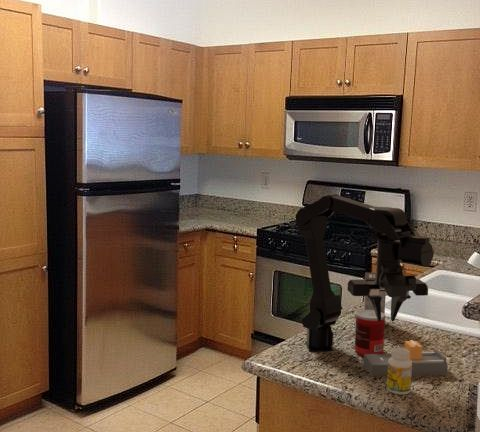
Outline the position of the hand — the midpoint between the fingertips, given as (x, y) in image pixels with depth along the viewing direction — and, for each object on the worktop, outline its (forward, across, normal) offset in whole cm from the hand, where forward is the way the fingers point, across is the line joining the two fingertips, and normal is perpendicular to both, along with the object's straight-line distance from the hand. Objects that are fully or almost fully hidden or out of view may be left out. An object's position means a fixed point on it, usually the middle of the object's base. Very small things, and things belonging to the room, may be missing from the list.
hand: (385, 320), depth 141 cm
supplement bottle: (+13, 0, -11) cm, 17 cm away
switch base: (+13, +6, 0) cm, 14 cm away
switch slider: (+10, +8, 0) cm, 12 cm away
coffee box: (+13, +8, +34) cm, 37 cm away
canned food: (+13, 0, +12) cm, 18 cm away
